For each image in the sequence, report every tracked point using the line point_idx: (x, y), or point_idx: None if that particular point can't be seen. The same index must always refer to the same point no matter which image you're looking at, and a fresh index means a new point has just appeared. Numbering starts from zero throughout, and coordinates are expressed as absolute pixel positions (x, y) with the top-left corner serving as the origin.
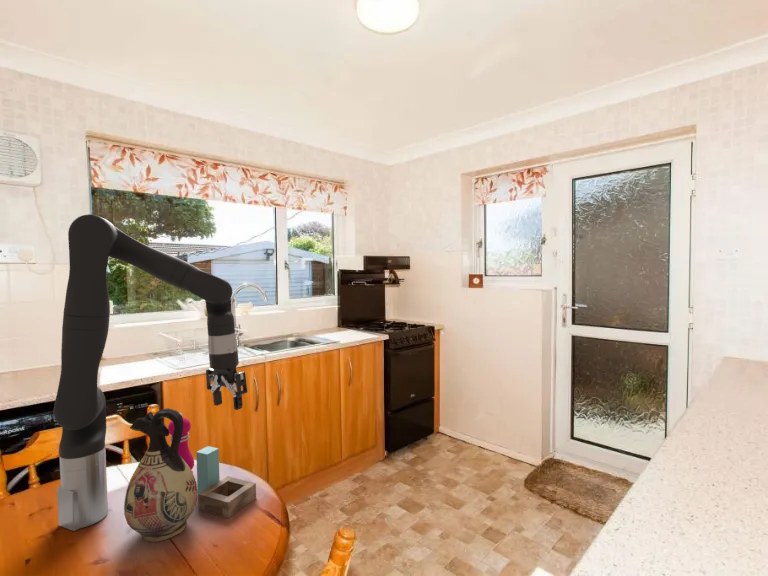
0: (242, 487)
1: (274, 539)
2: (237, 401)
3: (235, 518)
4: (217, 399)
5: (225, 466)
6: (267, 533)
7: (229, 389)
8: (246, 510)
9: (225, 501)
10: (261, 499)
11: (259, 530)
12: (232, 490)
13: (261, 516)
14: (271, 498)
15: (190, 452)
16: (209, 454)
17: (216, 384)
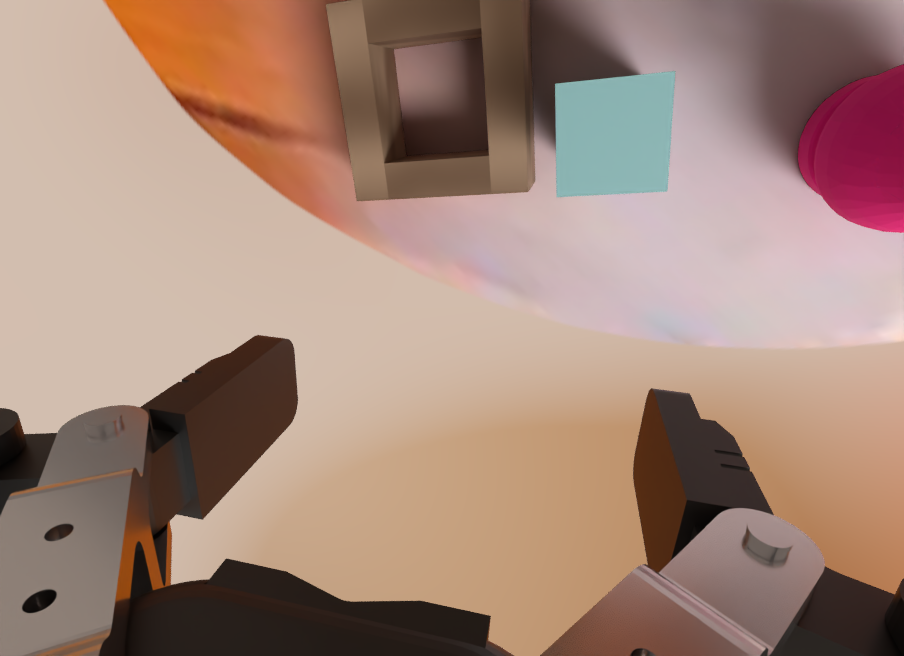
0: (377, 143)
1: (126, 12)
2: (174, 389)
3: None
4: (655, 459)
5: (719, 340)
6: (169, 25)
7: (96, 476)
8: None
9: (344, 4)
10: None
11: (202, 23)
12: (468, 153)
13: (266, 98)
14: (329, 213)
15: (892, 212)
16: (555, 106)
17: (570, 645)
